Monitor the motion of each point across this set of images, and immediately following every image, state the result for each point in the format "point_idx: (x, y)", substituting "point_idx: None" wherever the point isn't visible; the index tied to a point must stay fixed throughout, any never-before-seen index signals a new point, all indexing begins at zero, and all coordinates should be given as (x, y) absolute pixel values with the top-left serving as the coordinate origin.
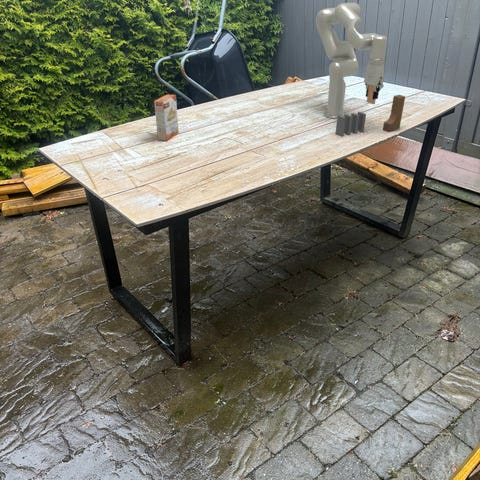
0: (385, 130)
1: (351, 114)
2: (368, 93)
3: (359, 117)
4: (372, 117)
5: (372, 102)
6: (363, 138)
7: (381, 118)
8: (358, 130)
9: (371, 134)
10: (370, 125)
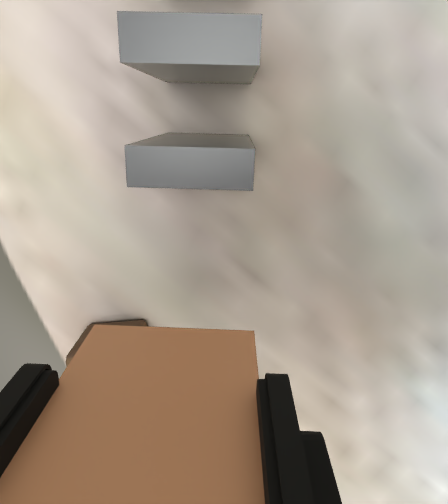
0: (118, 322)
1: (249, 17)
2: (233, 452)
3: (209, 142)
4: (397, 430)
5: (93, 340)
6: (30, 43)
7: (343, 460)
8: (207, 134)
9: (92, 177)
10: (269, 309)
